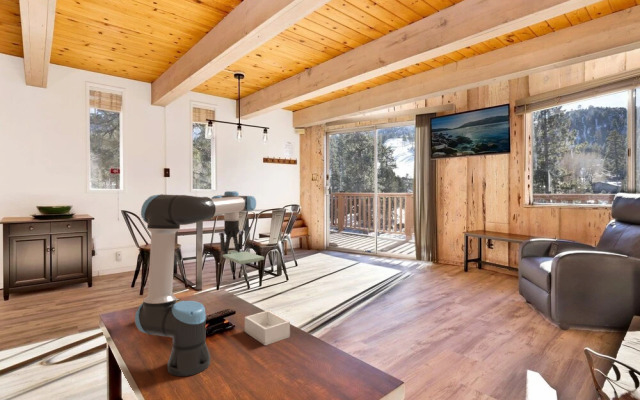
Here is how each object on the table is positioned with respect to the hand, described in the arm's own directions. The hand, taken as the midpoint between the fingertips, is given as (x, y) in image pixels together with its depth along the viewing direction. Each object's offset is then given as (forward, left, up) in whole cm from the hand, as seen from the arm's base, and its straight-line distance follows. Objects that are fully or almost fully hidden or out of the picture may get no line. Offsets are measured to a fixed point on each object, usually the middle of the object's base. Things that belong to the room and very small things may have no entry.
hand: (231, 263), depth 180 cm
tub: (-33, -14, -27) cm, 45 cm away
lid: (-9, -4, +4) cm, 11 cm away
